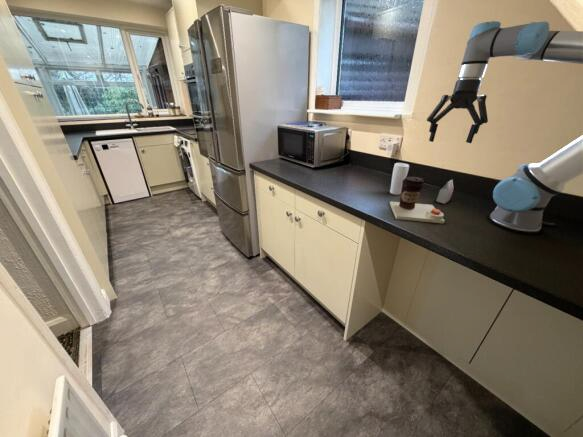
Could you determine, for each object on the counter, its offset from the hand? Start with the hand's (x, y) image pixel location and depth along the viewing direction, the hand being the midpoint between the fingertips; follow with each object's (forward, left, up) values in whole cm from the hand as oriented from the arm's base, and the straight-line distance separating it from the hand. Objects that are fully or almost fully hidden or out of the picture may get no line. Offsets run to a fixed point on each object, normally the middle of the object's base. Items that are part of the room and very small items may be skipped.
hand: (449, 142), depth 92 cm
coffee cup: (+11, +5, -27) cm, 30 cm away
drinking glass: (+12, -14, -29) cm, 34 cm away
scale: (+8, +8, -29) cm, 31 cm away
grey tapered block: (-9, -9, -29) cm, 32 cm away
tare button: (+2, +12, -26) cm, 29 cm away
